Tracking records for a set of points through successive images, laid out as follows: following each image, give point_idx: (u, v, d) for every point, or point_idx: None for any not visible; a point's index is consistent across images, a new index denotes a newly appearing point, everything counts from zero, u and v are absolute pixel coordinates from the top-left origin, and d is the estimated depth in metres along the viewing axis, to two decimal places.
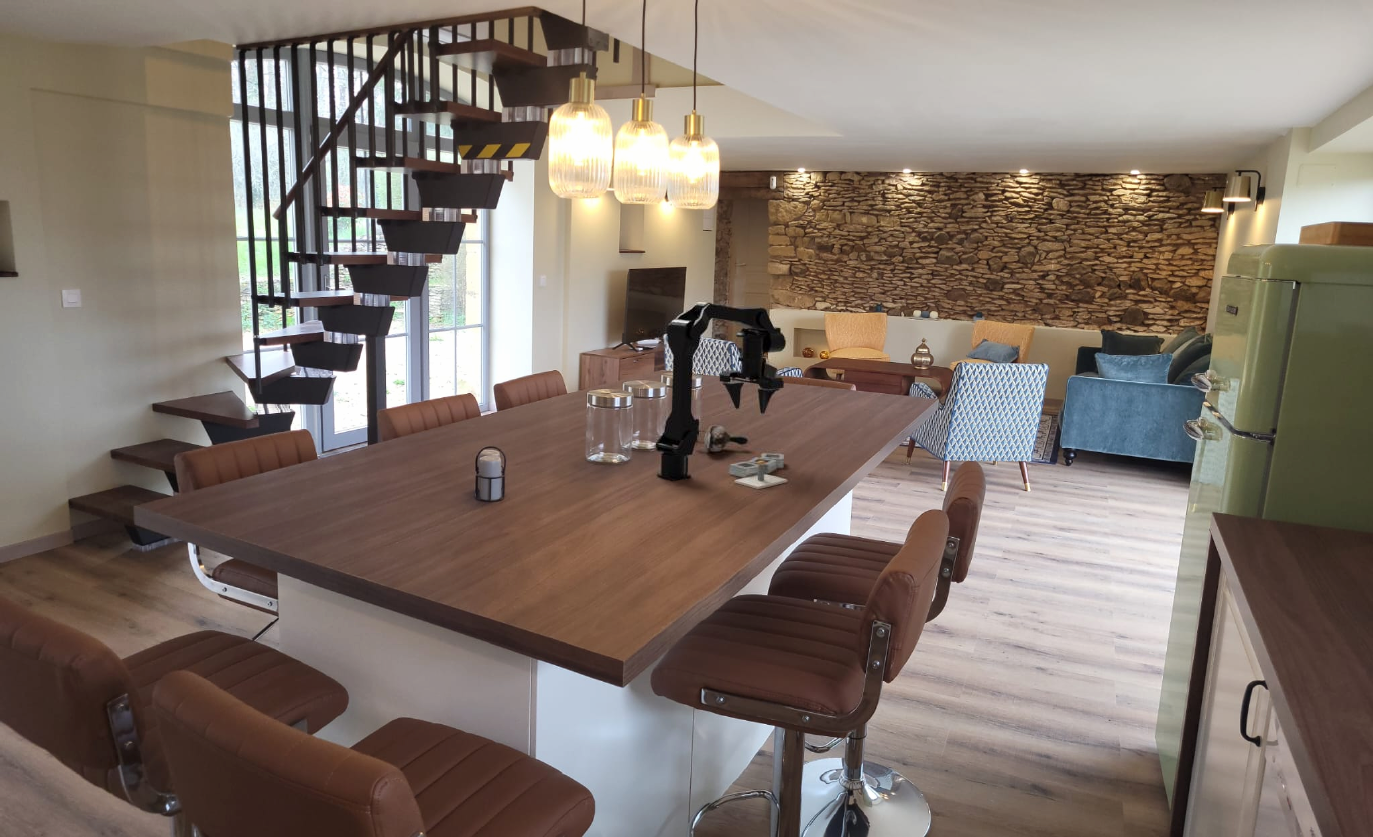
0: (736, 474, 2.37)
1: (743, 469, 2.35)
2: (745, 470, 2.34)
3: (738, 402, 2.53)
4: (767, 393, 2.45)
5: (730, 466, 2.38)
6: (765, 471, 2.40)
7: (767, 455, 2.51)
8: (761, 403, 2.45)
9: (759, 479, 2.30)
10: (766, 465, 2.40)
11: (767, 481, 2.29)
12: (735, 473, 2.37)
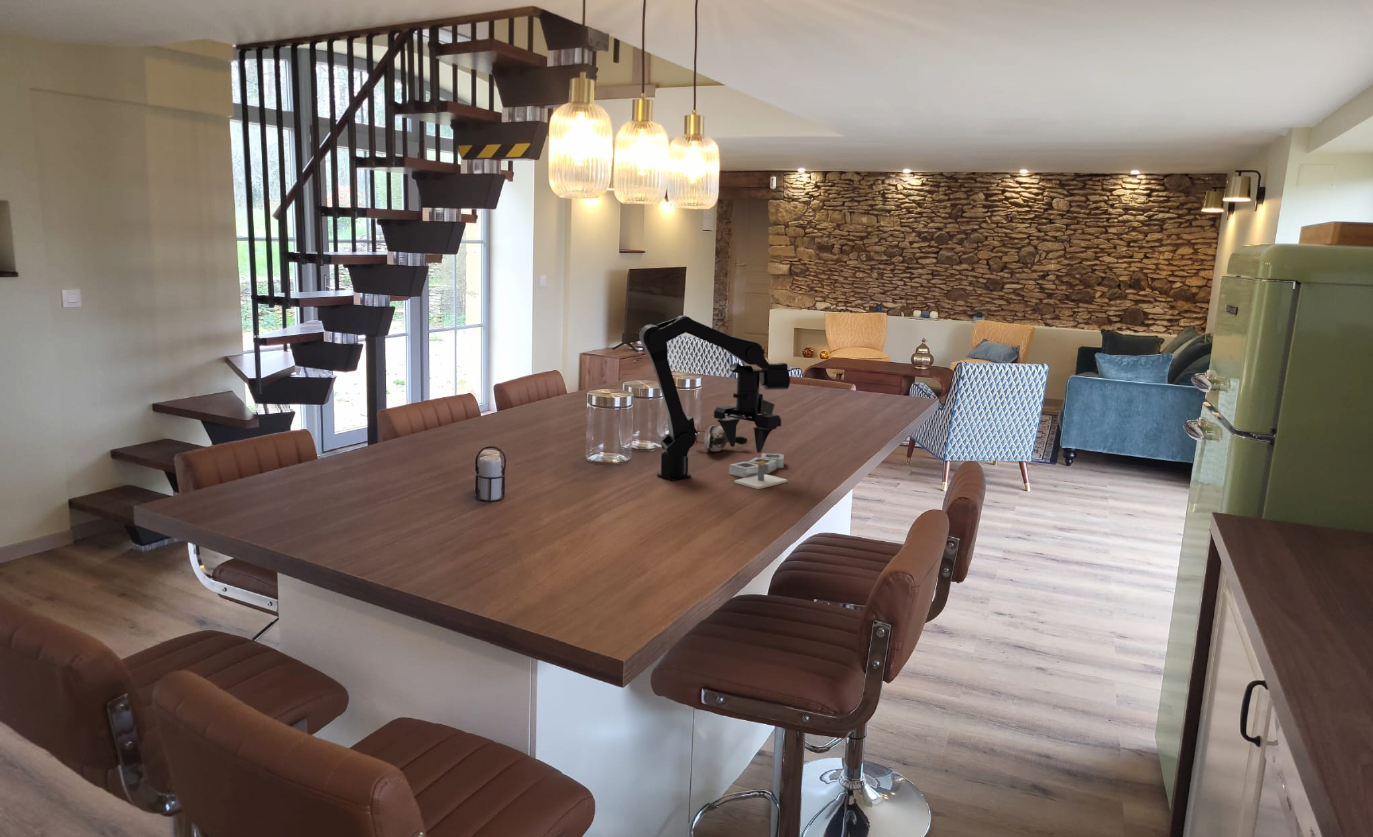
0: (736, 474, 2.37)
1: (743, 469, 2.35)
2: (745, 470, 2.34)
3: (733, 440, 2.40)
4: (764, 431, 2.32)
5: (730, 466, 2.38)
6: (765, 471, 2.40)
7: (767, 455, 2.51)
8: (757, 442, 2.32)
9: (759, 479, 2.30)
10: (766, 465, 2.40)
11: (767, 481, 2.29)
12: (735, 473, 2.37)
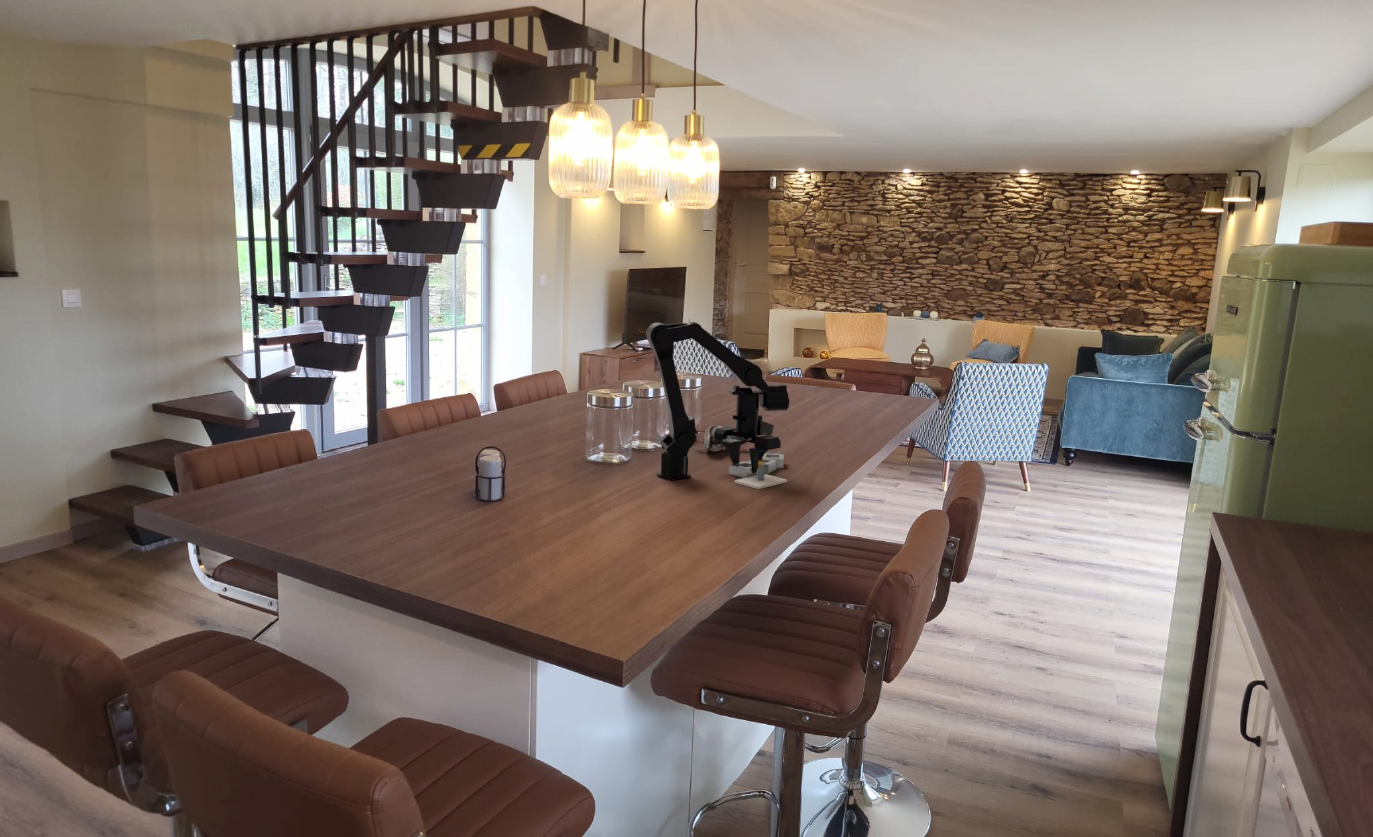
0: (736, 474, 2.37)
1: (743, 469, 2.35)
2: (745, 470, 2.34)
3: (737, 461, 2.40)
4: (759, 452, 2.34)
5: (730, 466, 2.38)
6: (765, 471, 2.40)
7: (767, 455, 2.51)
8: (753, 463, 2.34)
9: (759, 479, 2.30)
10: (766, 465, 2.40)
11: (767, 481, 2.29)
12: (735, 473, 2.37)
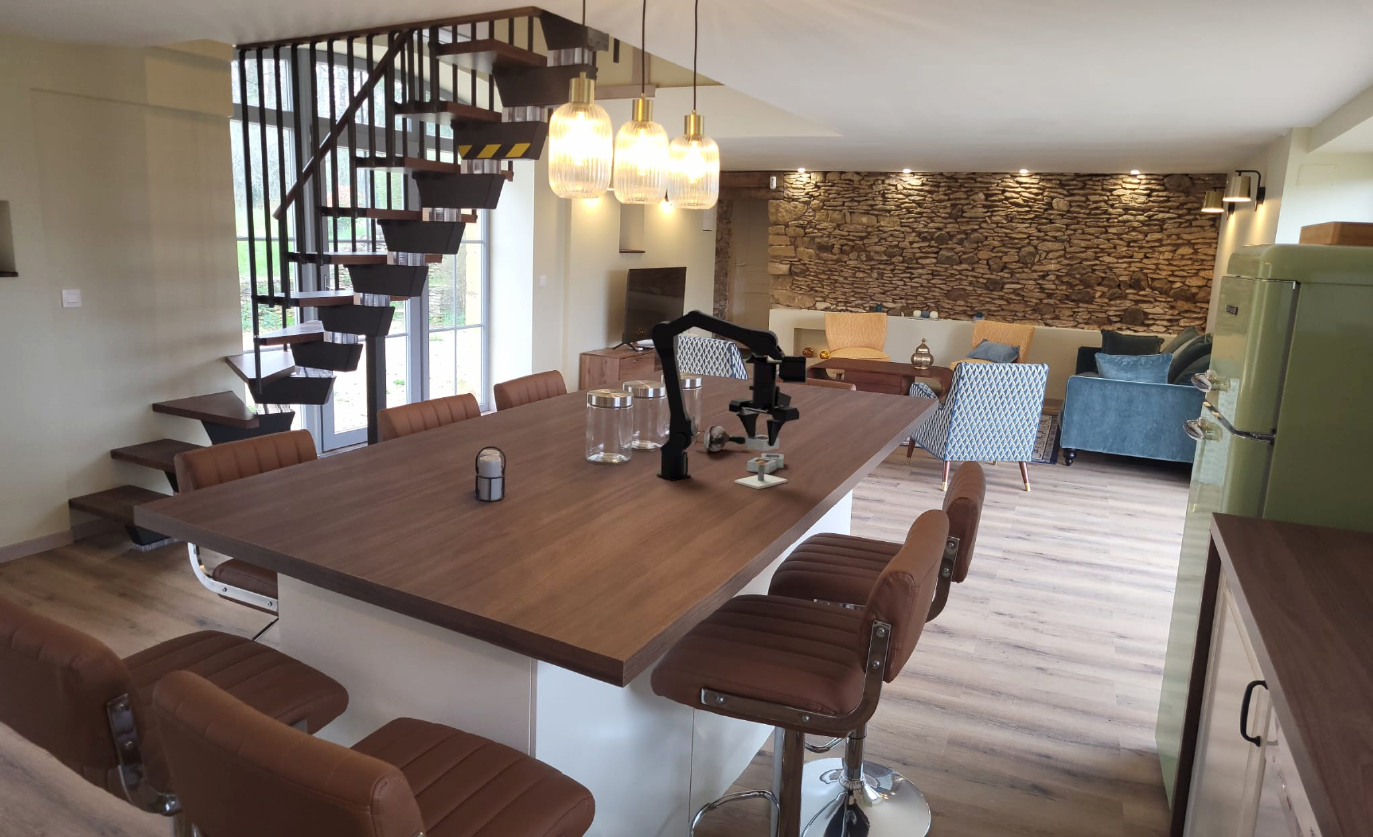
0: (753, 447, 2.27)
1: (760, 442, 2.25)
2: (762, 443, 2.25)
3: (753, 434, 2.31)
4: (776, 424, 2.25)
5: (746, 438, 2.29)
6: (765, 471, 2.40)
7: (767, 455, 2.51)
8: (770, 435, 2.25)
9: (759, 479, 2.30)
10: (766, 465, 2.40)
11: (767, 481, 2.29)
12: (752, 446, 2.28)
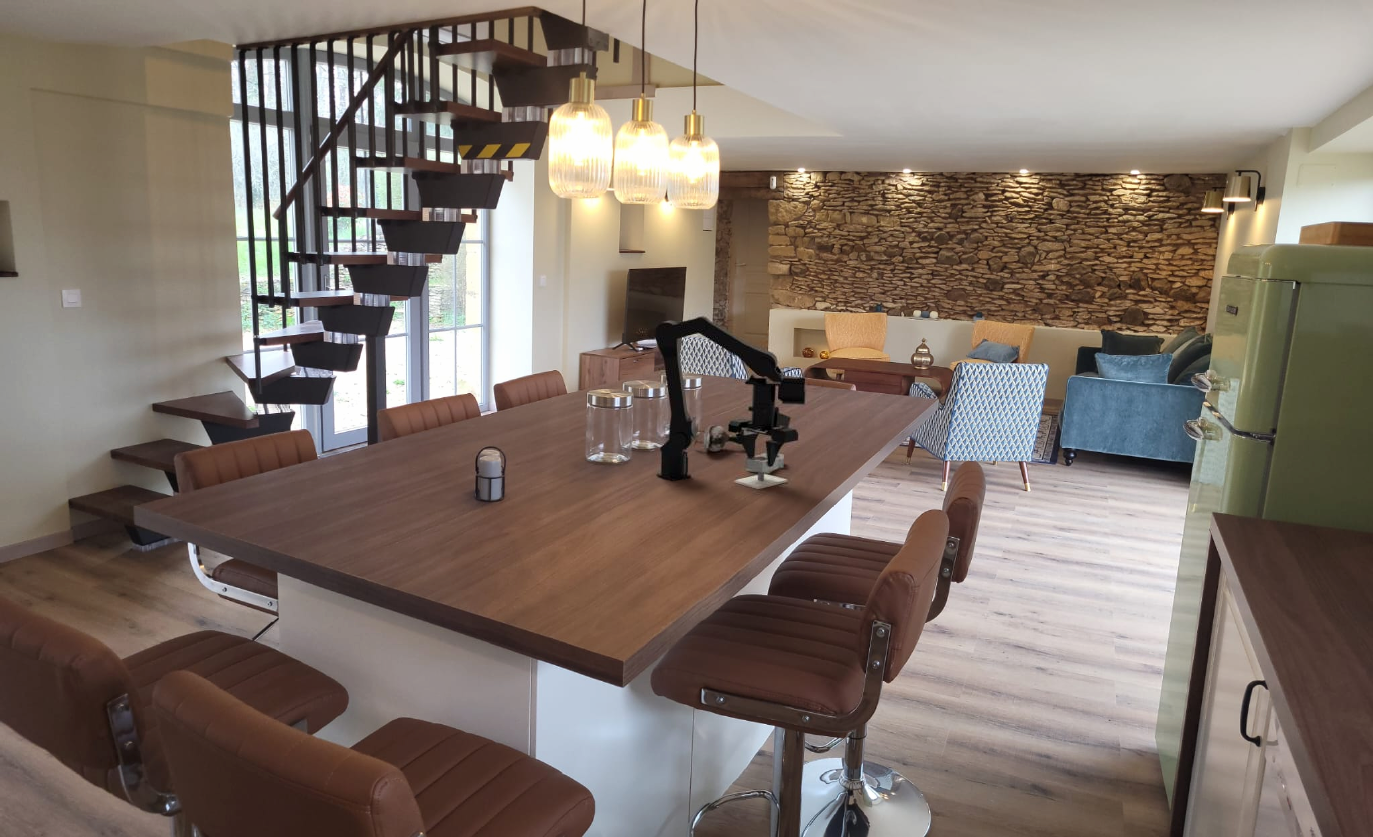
0: (752, 468, 2.28)
1: (759, 462, 2.26)
2: (761, 463, 2.26)
3: (752, 455, 2.32)
4: (776, 445, 2.26)
5: (745, 459, 2.30)
6: None
7: None
8: (769, 456, 2.26)
9: (759, 479, 2.30)
10: None
11: (767, 481, 2.29)
12: (751, 467, 2.29)
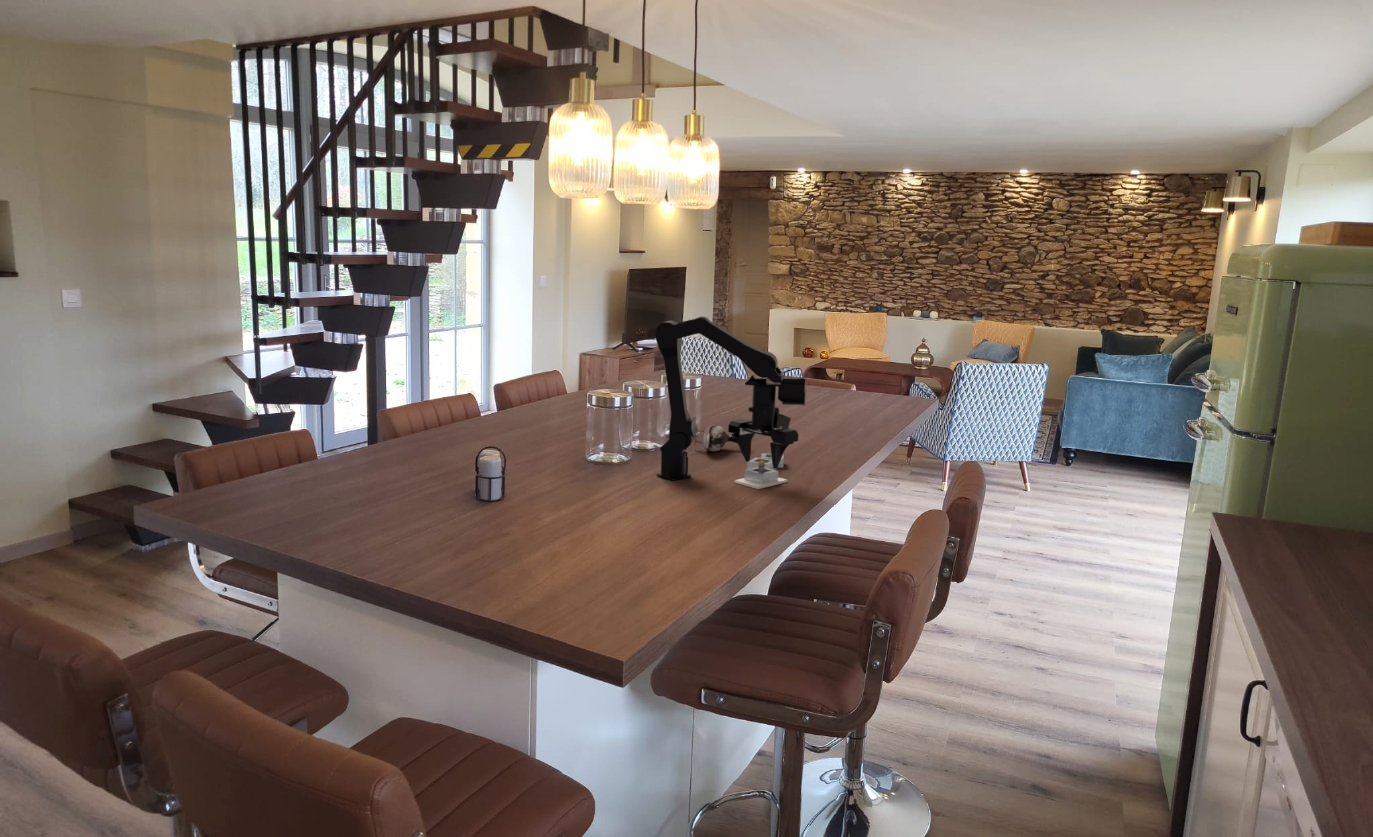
0: (751, 480, 2.29)
1: (759, 474, 2.27)
2: (761, 475, 2.26)
3: (748, 454, 2.33)
4: (780, 446, 2.25)
5: (745, 471, 2.30)
6: None
7: (767, 455, 2.51)
8: (774, 458, 2.25)
9: None
10: (766, 465, 2.40)
11: None
12: (750, 478, 2.29)
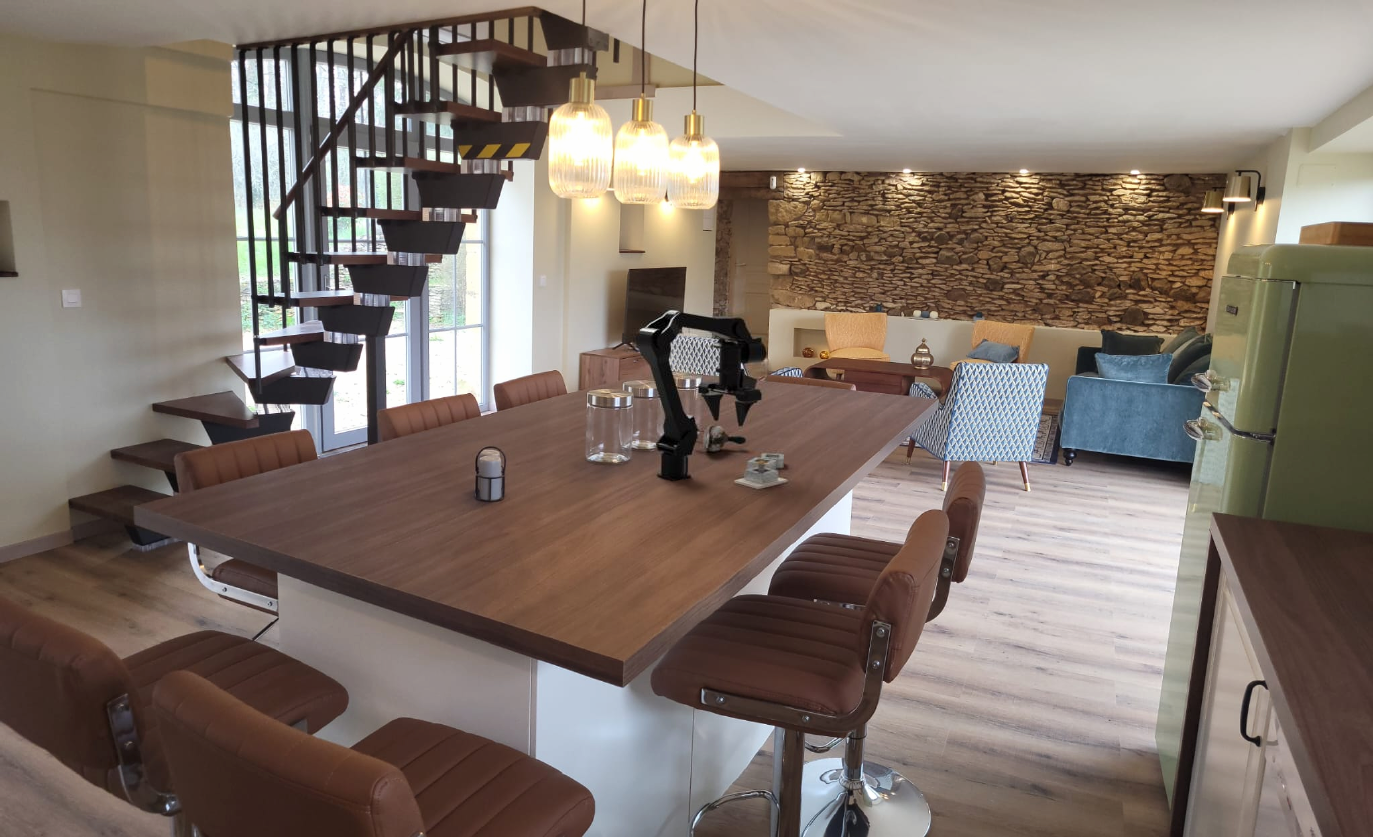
0: (751, 480, 2.29)
1: (759, 474, 2.27)
2: (761, 475, 2.26)
3: (717, 414, 2.46)
4: (745, 405, 2.38)
5: (745, 471, 2.30)
6: None
7: (767, 455, 2.51)
8: (738, 416, 2.38)
9: None
10: (766, 465, 2.40)
11: None
12: (750, 478, 2.29)
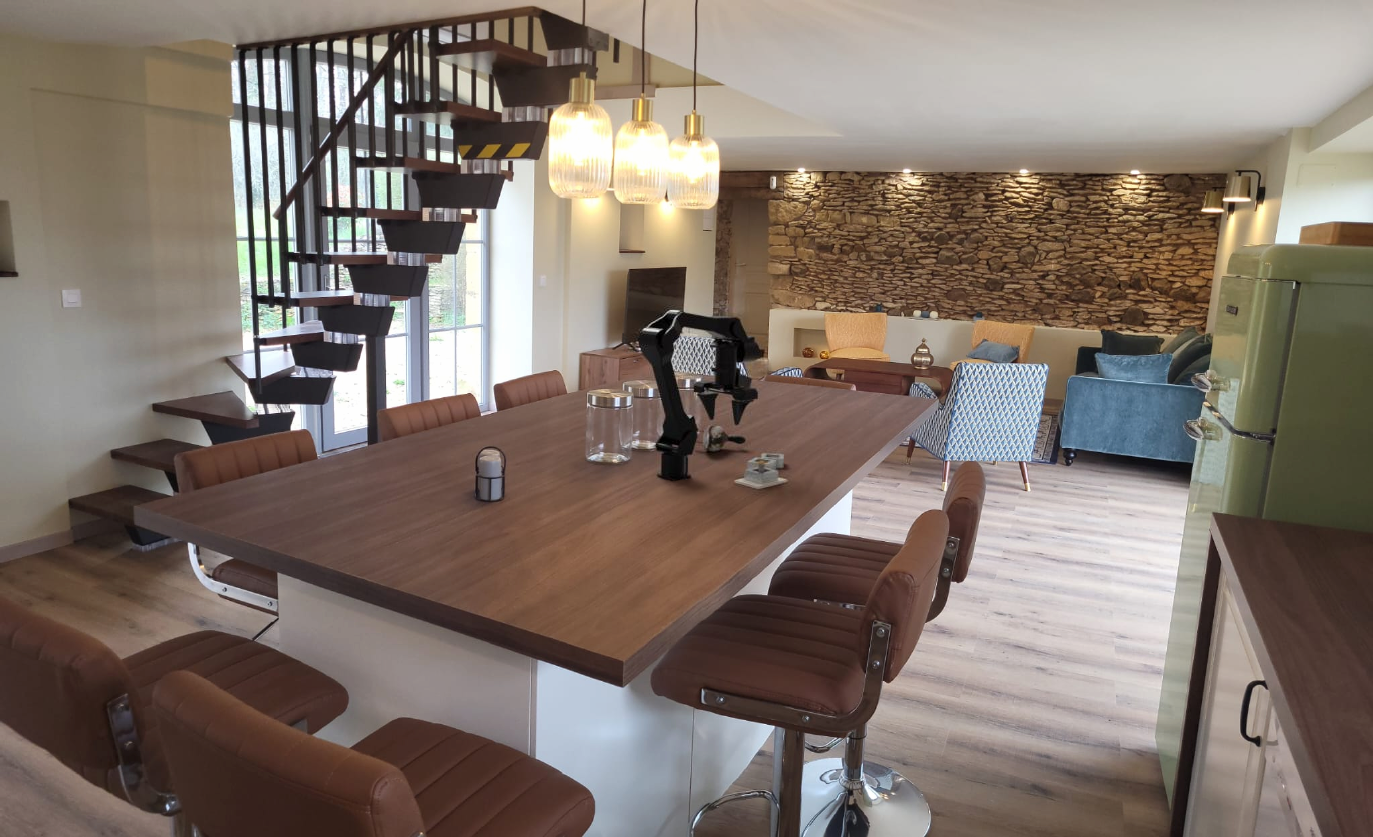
0: (751, 480, 2.29)
1: (759, 474, 2.27)
2: (761, 475, 2.26)
3: (712, 413, 2.48)
4: (741, 404, 2.40)
5: (745, 471, 2.30)
6: None
7: (767, 455, 2.51)
8: (735, 414, 2.39)
9: None
10: (766, 465, 2.40)
11: None
12: (750, 478, 2.29)
